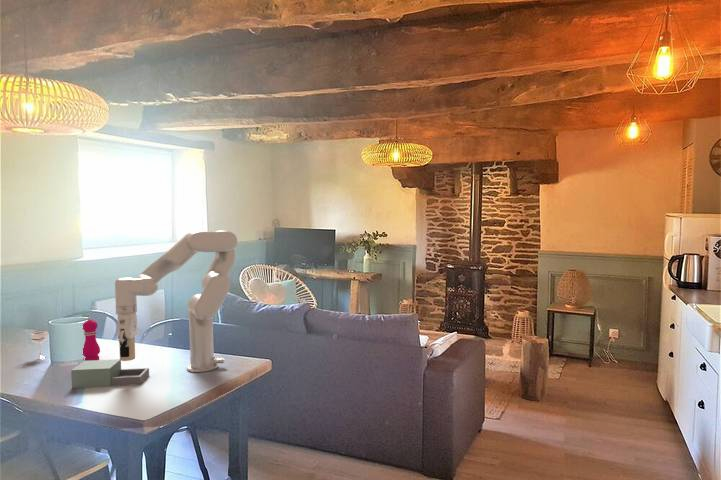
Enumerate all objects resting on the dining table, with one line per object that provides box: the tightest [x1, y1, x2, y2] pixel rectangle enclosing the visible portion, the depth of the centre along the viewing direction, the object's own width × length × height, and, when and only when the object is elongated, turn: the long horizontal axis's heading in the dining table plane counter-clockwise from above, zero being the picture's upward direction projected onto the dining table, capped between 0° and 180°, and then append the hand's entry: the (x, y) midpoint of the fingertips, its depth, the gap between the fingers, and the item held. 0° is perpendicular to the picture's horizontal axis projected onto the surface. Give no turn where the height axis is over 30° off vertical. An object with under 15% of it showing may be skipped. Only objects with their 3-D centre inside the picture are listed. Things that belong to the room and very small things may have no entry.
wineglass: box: [30, 329, 49, 360], centre depth 235 cm, size 7×7×12 cm
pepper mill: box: [82, 316, 101, 361], centre depth 229 cm, size 7×7×20 cm
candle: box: [118, 336, 136, 362], centre depth 201 cm, size 6×6×10 cm
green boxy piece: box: [70, 358, 150, 389], centre depth 201 cm, size 25×12×7 cm, turn 96°
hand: (127, 354), depth 202 cm, fingers closed on candle, 5 cm apart
